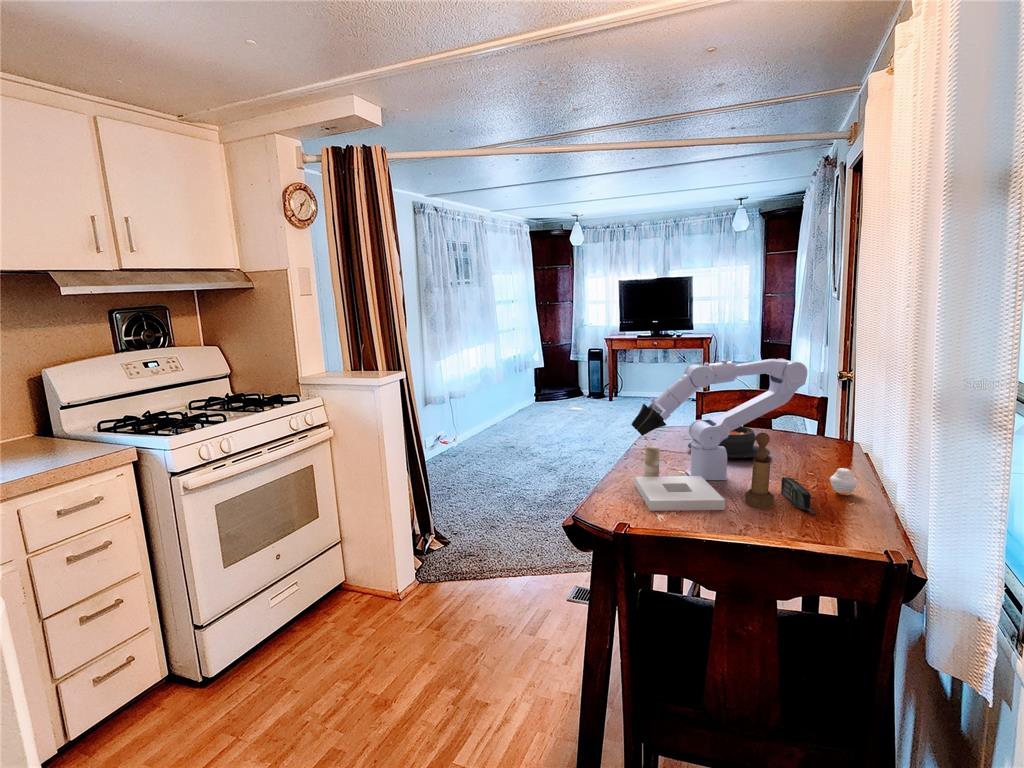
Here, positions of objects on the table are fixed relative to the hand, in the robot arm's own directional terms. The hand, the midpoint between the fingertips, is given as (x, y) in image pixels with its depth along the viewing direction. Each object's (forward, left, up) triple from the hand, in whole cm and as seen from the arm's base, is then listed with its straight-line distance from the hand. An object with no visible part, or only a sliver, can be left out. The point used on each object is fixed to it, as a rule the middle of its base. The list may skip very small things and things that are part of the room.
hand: (636, 429), depth 157 cm
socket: (-7, +15, -14) cm, 22 cm away
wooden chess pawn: (-26, +20, -14) cm, 36 cm away
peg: (-4, 0, -14) cm, 15 cm away
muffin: (-50, +14, -14) cm, 54 cm away
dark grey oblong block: (-36, +21, -14) cm, 44 cm away
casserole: (-34, -23, -14) cm, 44 cm away
